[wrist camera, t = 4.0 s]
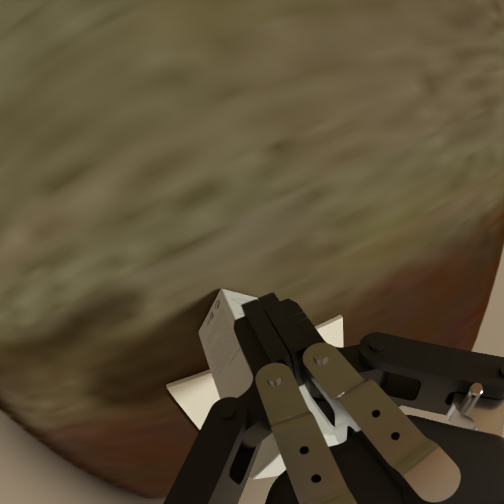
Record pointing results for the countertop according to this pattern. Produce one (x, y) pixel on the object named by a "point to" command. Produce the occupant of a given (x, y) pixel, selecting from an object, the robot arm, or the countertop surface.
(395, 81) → the countertop surface
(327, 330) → the mat
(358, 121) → the countertop surface
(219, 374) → the skincare box
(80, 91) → the countertop surface
